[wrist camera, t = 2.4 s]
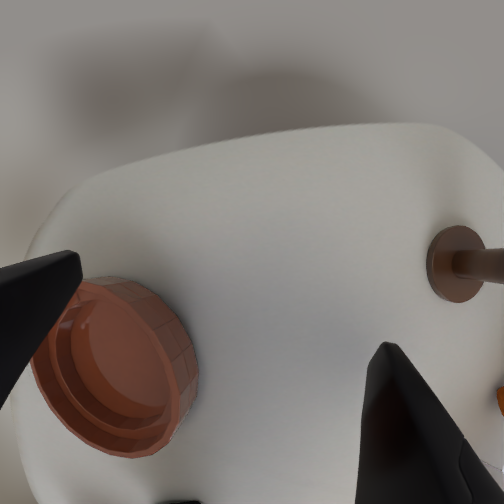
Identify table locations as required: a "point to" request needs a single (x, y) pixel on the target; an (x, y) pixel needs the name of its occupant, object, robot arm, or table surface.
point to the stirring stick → (462, 264)
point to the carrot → (501, 399)
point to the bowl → (118, 368)
